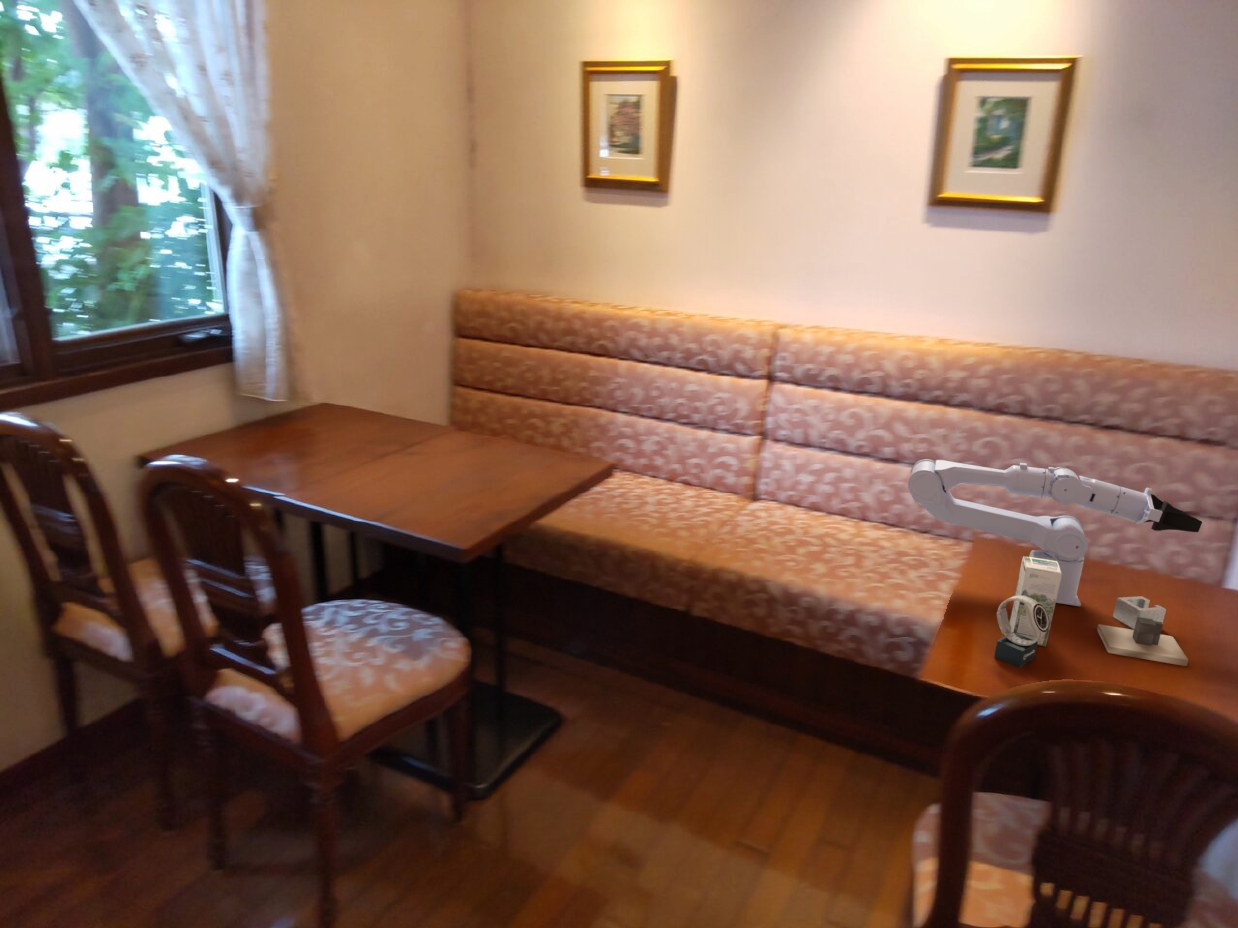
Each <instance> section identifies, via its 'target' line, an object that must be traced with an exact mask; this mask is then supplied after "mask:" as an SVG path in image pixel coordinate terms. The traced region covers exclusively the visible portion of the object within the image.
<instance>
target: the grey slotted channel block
mask: <svg viewBox="0 0 1238 928" xmlns="http://www.w3.org/2000/svg"><path fill="white" fill-rule="evenodd" d="M1150 602H1151V600H1150V599H1149V598H1146V597H1144V596H1142V595H1141V596H1140V595H1138V596H1126V597H1124V596H1123V597H1117V598H1116V604H1115V607H1114V611H1113V615H1112V617H1113V618H1114V619H1116V620H1117V621H1119V622H1121V623H1123V624H1124V625H1126V626H1127V627H1129V628H1131V630H1134V628H1135V624H1136V620H1137V617H1142V618H1148V619H1153V621H1157V622H1162V624H1163V625H1164V621H1165V616H1166V612H1167V609H1166V608H1165V607H1163V606H1161V605H1160V604H1156V605H1155V604H1154V605H1153V607H1149V605H1150Z"/></svg>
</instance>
